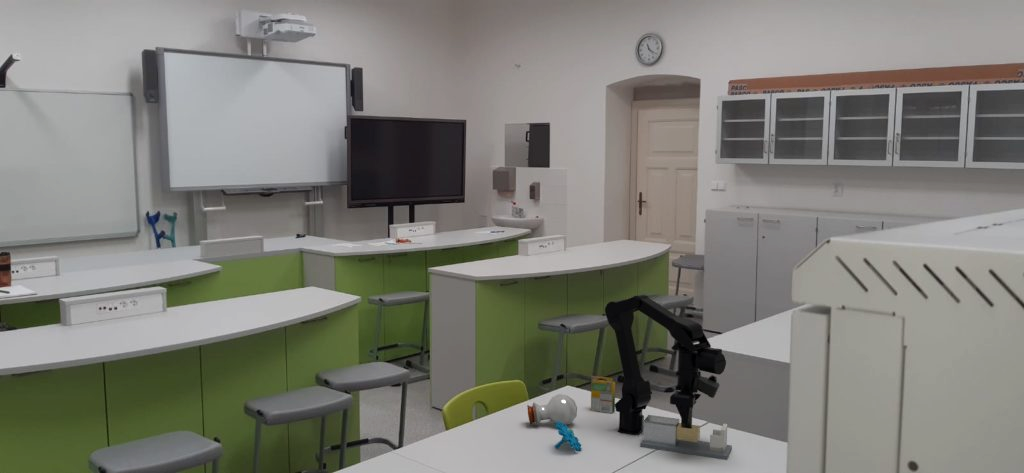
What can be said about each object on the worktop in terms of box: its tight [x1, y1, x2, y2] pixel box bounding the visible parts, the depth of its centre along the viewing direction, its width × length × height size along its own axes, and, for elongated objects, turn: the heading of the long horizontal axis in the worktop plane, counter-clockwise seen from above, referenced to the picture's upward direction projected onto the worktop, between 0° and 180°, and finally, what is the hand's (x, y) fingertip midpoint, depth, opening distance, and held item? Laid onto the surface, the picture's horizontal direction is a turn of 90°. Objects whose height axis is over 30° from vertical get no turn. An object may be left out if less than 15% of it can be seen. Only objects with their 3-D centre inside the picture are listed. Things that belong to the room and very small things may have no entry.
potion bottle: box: [527, 393, 578, 426], centre depth 242 cm, size 9×10×15 cm
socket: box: [709, 423, 728, 453], centre depth 220 cm, size 4×6×6 cm, turn 157°
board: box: [639, 438, 733, 461], centre depth 223 cm, size 24×9×1 cm, turn 67°
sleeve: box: [643, 414, 681, 446], centre depth 226 cm, size 9×5×6 cm, turn 67°
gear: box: [554, 421, 582, 452], centre depth 222 cm, size 11×6×10 cm
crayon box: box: [590, 375, 616, 415], centre depth 256 cm, size 7×3×12 cm, turn 66°
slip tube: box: [676, 408, 701, 442], centre depth 224 cm, size 14×4×9 cm, turn 67°
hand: (686, 421), depth 223 cm, fingers closed on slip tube, 3 cm apart
